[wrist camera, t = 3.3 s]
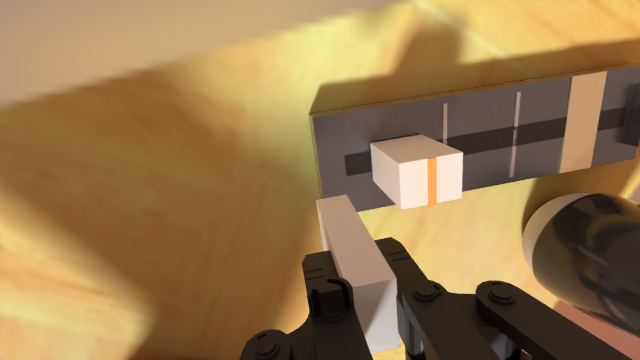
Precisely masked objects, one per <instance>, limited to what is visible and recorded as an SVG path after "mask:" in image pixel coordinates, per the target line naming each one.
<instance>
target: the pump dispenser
mask: <svg viewBox="0 0 640 360" xmlns="http://www.w3.org/2000/svg"><path fill="white" fill-rule="evenodd" d="M522 245H523V252H524V256H525V259H526V261H527V263H528V265H529V267H530V268H531V270H532V271H533V273H534V276H535V278H536V279H537V281H538V282H539V284H540V285H541V286H542V287H544V288H545V289H546V290H547V291H549V292H550V293H551V294H553V295H554V296H556V297H557V298H559V299H560V300H562V301H564V302H565V303H567V304H569V305H570V306H572V307H574V308H575V309H577V310H579V311H581V312H582V313H584V314H586V315H588V316H590V317H592V318H593V319H595V320H597V321H599V322H602V323H604V324H605V325H607V326H610V327H612V328H614V329H616V330H618V331H620V332H622V333H625V334H627V335H629V336H631V337H634V338H636V339H639V340H640V204H638V203H636V202H634V201H631V200H629V199H627V198H624V197H621V196H618V195H615V194H611V193H572V194H567V195H563V196H560V197H557V198H554V199H552V200H550V201H549V202H547V203H545V204H544V205H543V206H541V207H540V208H539V209H538V210H537V211H536V212H535V213H534V214H533V215H532V217H531V218H530V219H529V221H528V223H527V225H526V227H525V230H524V234H523V241H522Z"/></svg>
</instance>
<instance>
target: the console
mask: <svg viewBox="0 0 640 360" xmlns="http://www.w3.org/2000/svg"><path fill="white" fill-rule="evenodd" d="M309 120H310V127H311V134H312V141H313V148H314V155H315V162H316V169H317V176H318V183H319V190H320V197H321V199H325V198H330V197H336V196H341V195H347V197H348V198H349V200H350V202H351V203H352V205H353V207H354V208H355V210H356V212H360V211H365V210H370V209H375V208H380V207H386V206H391V205H396V204H395V203H394V202H393V201H392V200H391V199H390V198H389V197H388V196H387V195H386V194H385V193H384V191H383V190H382V189H381V188H380V187H379V186H378V185H377V184H376V183H375V182H374V181H373V173H372V160H371V147H370V143H374V142H380V141H386V140H392V139H397V138H403V137H409V136H415V135H423V136H426V137H428V138H431V139H433V140H435V141H438V142H440V143H442V144H445V145H447V146H449V147H452V148H454V149H456V150H459V151H461V152H463V169H462V192H463V191H468V190H474V189H479V188H484V187H489V186H494V185H499V184H505V183H510V182H515V181H520V180H525V179H531V178H536V177H541V176H546V175H551V174H556V173H559V174H560V173H565V172H570V171H575V170H580V169H586V168H591V167H593V166H598V165H603V164H608V163H613V162H619V161H624V160H629V159H634V158H635V153H636V149H637V147H640V63H639V64H623V65H617V66H611V67H604V68H598V69H591V70H585V71H579V72H572V73H566V74H559V75H553V76H547V77H540V78H534V79H528V80H521V81H515V82H508V83H502V84H496V85H489V86H483V87H477V88H470V89H464V90H457V91H451V92H445V93H438V94H432V95H426V96H419V97H413V98H406V99H400V100H394V101H387V102H381V103H374V104H368V105H362V106H355V107H349V108H343V109H336V110H330V111H323V112H317V113H311V114H309Z"/></svg>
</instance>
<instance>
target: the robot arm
mask: <svg viewBox="0 0 640 360" xmlns="http://www.w3.org/2000/svg"><path fill="white" fill-rule="evenodd" d="M316 204H317V210H318V217H319V224H320V231H321V238H322V245H323V250H324V251H323V252H318V253H313V254H308V255H306V256H305V258H304V260H303V262H302V266H303V272H304V278H305V284H306V290H307V298H308V304H309V315H308V318H307V320H306V321H305V323H304V324H303V325H301V326H300V327H299V328H298V329H296V330H294V331H293V332H291V333H289V334H285V333H284V332H282V331H280V330H273V329H271V330H266V331H262V332H260V333H258V334H256V335H254V336H253V337H252V338H251V339H250V340H249V341H248V342H247V343H246V345H245V347H244V349H243V351H242V354H241V356H240V359H239V360H373V358H372V356H371V354H372V353H376V352H380V351H385V350H389V349H393V348H398V347H400V337H401V339H402V341H403V343H404V345H405V354H406V360H632V359H631V358H629V357H628V356H626V355H624V354H623V353H621V352H620V351H618V350H616V349H615V348H613V347H611V346H610V345H608V344H607V343H605V342H604V341H602V340H601V339H599V338H597V337H596V336H594V335H592V334H591V333H589V332H588V331H586V330H585V329H583V328H581V327H580V326H578V325H577V324H575V323H573V322H572V321H570V320H569V319H567V318H566V317H564V316H562V315H561V314H559V313H558V312H556V311H554V310H553V309H551V308H550V307H548V306H547V305H545V304H543V303H542V302H540V301H539V300H537V299H535V298H534V297H532V296H531V295H529V294H527V293H526V292H524V291H523V290H521V289H520V288H518V287H516V286H514V285H512V284H510V283H506V282H502V281H486V282H482V283H481V284H480V285H478V286H477V289H476V294H457V293H450V292H448V291H447V290H446V289H445V288H444V287H443V286H442V285H440V284H439V283H436V282H434V281H431V280H428V279H427V277H426V276H425V275H424V273H423V272H422V271H421V269H420V268H419V267H418V265H417V264H416V263H415V261H414V260H413V259H412V258H411V256H410V255H409V253H408V252H407V251H406V249H405V248H404V247H403V245H402V244H401V243H400V242H398V241H397V240H395V239H393V238H392V237H389V238H384V239H379V240H373V238H372V237H371V235H370V233H369V232H368V230H367V228H366V227H365V225H364V223H363V222H362V220H361V218H360V217H359V215H358V213H357V212H356V210H355V208H354V207H353V205H352V203H351V202H350V200H349V198H348V197H347V195H341V196H336V197H330V198H325V199H319V200H316ZM522 349H523V350H524V351H525V352H527V353H528V354H529V355H531V356H529V355H528V354H526V353H525V352H524V351H522Z"/></svg>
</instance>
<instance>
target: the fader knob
mask: <svg viewBox="0 0 640 360" xmlns="http://www.w3.org/2000/svg"><path fill="white" fill-rule="evenodd" d="M370 147H371V160H372V173H373V181H374V182H375V183H376V184H377V185H378V186H379V187H380V188H381V189H382V190H383V191H384V193H385V194H386V195H387V196H388V197H389V198H390V199H391V200H392V201H393V202H394V203H395V204H396V205H397V206H398V207H399V208H400V209H401V210H403V209H408V208H413V207H419V206H424V205H434V204H437V203H439V202H444V201H449V200H454V199H459V198H462V169H463V152H461V151H459V150H456V149H454V148H452V147H449V146H447V145H445V144H442V143H440V142H438V141H435V140H433V139H431V138H428V137H426V136H423V135H415V136H409V137H403V138H397V139H392V140H386V141H380V142H374V143H370Z"/></svg>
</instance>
